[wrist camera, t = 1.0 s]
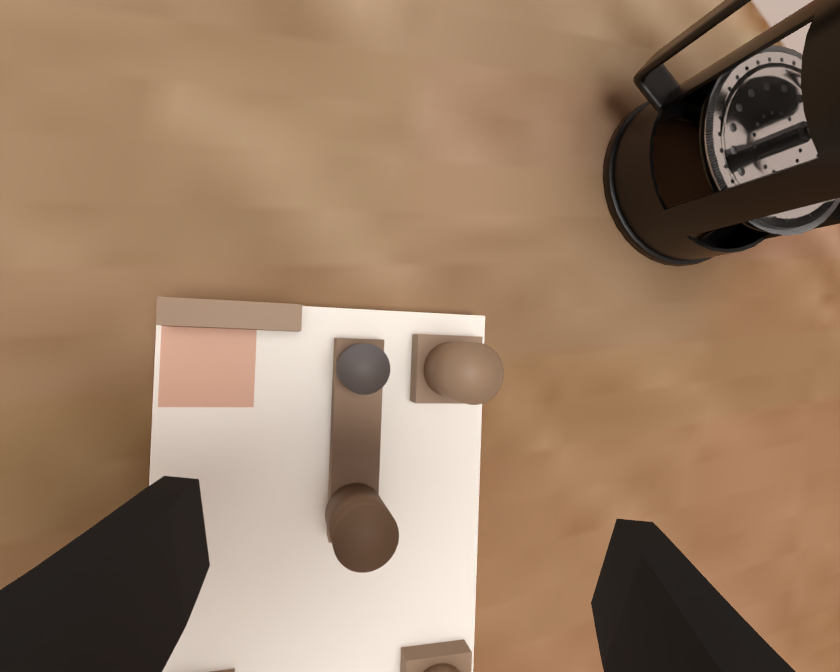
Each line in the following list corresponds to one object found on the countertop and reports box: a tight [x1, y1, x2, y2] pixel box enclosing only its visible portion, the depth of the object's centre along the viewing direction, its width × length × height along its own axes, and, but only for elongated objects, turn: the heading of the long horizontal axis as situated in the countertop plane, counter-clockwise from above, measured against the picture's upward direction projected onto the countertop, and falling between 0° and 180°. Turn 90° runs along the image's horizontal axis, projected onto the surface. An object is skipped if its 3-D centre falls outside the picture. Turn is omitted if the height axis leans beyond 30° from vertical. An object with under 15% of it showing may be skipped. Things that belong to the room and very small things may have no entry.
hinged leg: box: [325, 338, 399, 573], centre depth 20 cm, size 8×2×4 cm, turn 178°
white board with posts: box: [149, 296, 504, 672], centre depth 21 cm, size 19×14×6 cm
